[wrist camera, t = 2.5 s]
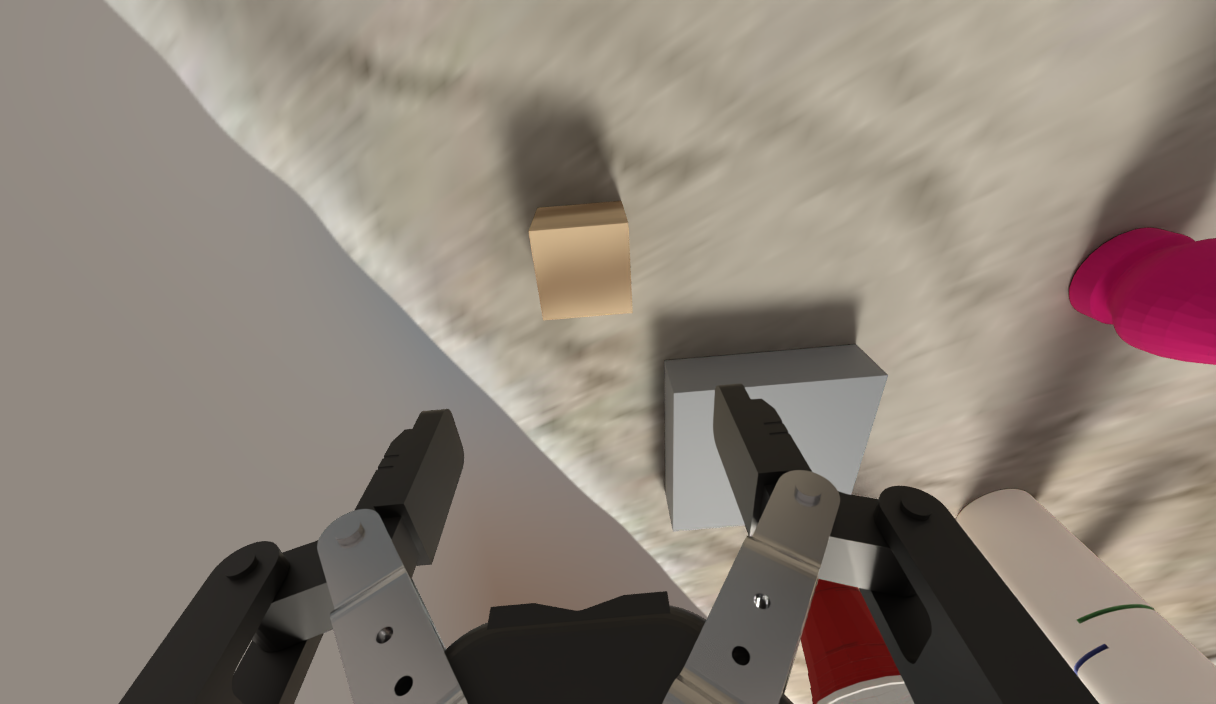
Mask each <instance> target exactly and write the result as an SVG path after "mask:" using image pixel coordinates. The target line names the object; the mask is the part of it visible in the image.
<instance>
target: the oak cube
mask: <svg viewBox="0 0 1216 704" xmlns="http://www.w3.org/2000/svg"><path fill="white" fill-rule="evenodd" d="M529 237H530V243H531V250H532V256H533V262H534V268H535V274H536V280H537V286H538V292H539V298H540V304H541V310H542V316H543V320H553V319H565V318H577V317H588V316H600V315H612V314H624V313H632V292H631V271H630V250H629V229H628V221H627V217H626V214H625V211H624V208H623V205H622V202H621V201H613V202H601V203H589V204H577V205H565V206H553V207H541V208H537V210H536V213H535V216H534V218H533V221H532V223H531V226H530V229H529Z"/></svg>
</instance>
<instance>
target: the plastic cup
mask: <svg viewBox="0 0 1216 704" xmlns="http://www.w3.org/2000/svg"><path fill="white" fill-rule="evenodd" d="M801 643H802V647H803V652H804V656H805V660H806V664H807V668H808V677H809V681H810V685H811V688H810V689H811V693H812V697H813V698H812V701H813V704H914V702H913V700H912V698H911V695H910V693H909V691H908V689H907V687H906V685H905V683H904V681H903V679H902V677H901V675H900V673H899V671H898V669H897V666H896V664H895V662H894V660H893V658H892V656H891V654H890V652H889V650H888V648H887V646H886V644H885V642H884V639H883V637H882V635H881V633H880V631H879V629H878V627H877V625H876V623H875V621H874V619H873V617H872V615H871V613H870V610H869V608H868V606H867V604H866V602H865V600H864V598H863V596H862V594H861V592H860V590H859V589H858V587H854V586H849V585H845V584H840V583H836V582H831V581H827V580H822V579H818V582H817V586H816V589H815V592H814V596H813V599H812V602H811V606H810V609H809V612H808V616H807V619H806V622H805V626H804V629H803V632H802V636H801Z"/></svg>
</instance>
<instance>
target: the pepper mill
mask: <svg viewBox="0 0 1216 704" xmlns="http://www.w3.org/2000/svg"><path fill="white" fill-rule="evenodd" d="M1069 300H1070V302H1071V304H1072V306H1073V307H1074V308H1075V309H1076V310H1077V311H1078V312H1080V313H1082V314H1084V315H1087V316H1089V317H1091V318H1093V319H1095V320H1097V321H1100V322H1102V323H1105V324H1113V325H1114V328H1115V330H1116V332H1117V334H1118V335H1119V336H1120V338H1121V339H1123V340H1124V341H1125V342H1126V343H1128V344H1129V345H1131V346H1133V347H1135V348H1138V349H1141V350H1143V351H1146V352H1149V353H1151V354H1154V355H1157V356H1161V357H1165V358H1170V359H1175V360H1180V361H1186V362H1195V363H1204V364H1213V365H1216V238H1213V239H1205V240H1200V241H1196V242H1195V241H1194V240H1193V239H1191V238H1190V237H1188V236H1185V235H1182V234H1178V233H1174V232H1170V231H1166V230H1162V229H1158V228H1140V229H1135V230H1132V231H1129V232H1126V233H1123V234H1121V235H1118V236H1116V237H1114V238H1113V239H1111V240H1109V241H1108V242H1106V243H1104V244H1103V245H1102V246H1100V247H1099V248H1098V249H1096V250H1095V251H1094V252H1093V253H1092V254H1091V255H1090V256H1089V257H1088V258H1087V259H1086V260H1085V261H1084V262H1083V263H1082V264H1081V266H1080V267H1079V269H1078V270H1077V272H1076V273H1075V275H1074V277H1073V279H1072V282H1071V285H1070V288H1069Z"/></svg>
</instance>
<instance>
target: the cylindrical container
mask: <svg viewBox="0 0 1216 704" xmlns="http://www.w3.org/2000/svg"><path fill="white" fill-rule="evenodd" d="M956 521H957V522H958V523H959V525H960V526H961V527H962V529H963V530H964V531H965V532H966V534H967V535H968V536H969V538H970V539H971V540H972V541H973V543H974V544H975V545H976V546H977V548H978V549H979V550H980V552H981V553H982V554H983V555H984V557H985V558H986V559H987V561H988V562H989V563H990V564H991V566H992V567H993V568H994V570H995V571H996V572H997V573H998V575H999V576H1000V577H1001V579H1002V580H1003V581H1004V582H1005V584H1006V585H1007V586H1008V587H1009V589H1010V590H1011V591H1012V593H1013V594H1014V595H1015V596H1016V598H1017V599H1018V600H1019V602H1020V603H1021V604H1022V605H1023V607H1024V608H1025V609H1026V611H1027V612H1028V613H1029V614H1030V616H1031V617H1032V618H1033V620H1034V621H1035V622H1036V623H1037V625H1038V626H1039V627H1040V628H1041V630H1042V631H1043V632H1044V634H1045V635H1046V636H1047V637H1048V639H1049V640H1050V641H1051V643H1052V644H1053V645H1054V646H1055V648H1056V649H1057V650H1058V652H1059V653H1060V654H1061V655H1062V657H1063V658H1064V659H1065V661H1066V662H1067V663H1068V664H1069V666H1070V667H1071V668H1072V669H1073V671H1074V672H1075V673H1076V675H1077V676H1078V677H1079V678H1080V680H1081V681H1082V682H1083V684H1084V685H1085V686H1086V687H1087V688H1088V690H1089V691H1090V692H1091V693H1092V694H1093V696H1094V697H1095V698H1096V699H1097V700H1098V702H1099V703H1100V704H1216V666H1215V665H1214V664H1213V663H1212V662H1211V661H1210V660H1209V659H1208V658H1207V657H1206V656H1204V655H1203V654H1202V653H1201V652H1200V651H1199V650H1198V649H1197V648H1196V647H1195V646H1194V645H1193V644H1191V643H1190V642H1189V641H1188V640H1187V639H1186V638H1185V637H1184V636H1183V635H1182V634H1181V633H1180V632H1178V631H1177V630H1176V629H1175V628H1174V627H1173V626H1172V625H1171V624H1170V623H1169V622H1168V621H1167V620H1166V619H1164V618H1163V617H1162V616H1161V615H1160V614H1159V613H1158V612H1156V611H1155V610H1154V608H1153V607H1151V606H1150V605H1149V604H1148V603H1147V602H1146V601H1145V600H1144V599H1143V598H1142V597H1141V596H1140V595H1138V594H1137V593H1136V592H1135V591H1134V590H1133V589H1132V588H1131V587H1130V586H1129V585H1128V584H1127V583H1125V582H1124V581H1123V580H1122V579H1121V578H1120V577H1119V576H1118V575H1117V574H1116V573H1115V572H1114V571H1112V570H1111V569H1110V568H1109V567H1108V566H1107V565H1106V564H1105V563H1104V562H1103V561H1102V560H1101V559H1099V558H1098V557H1097V556H1096V555H1095V554H1094V553H1093V552H1092V551H1091V550H1090V549H1089V548H1088V547H1086V546H1085V545H1084V544H1083V543H1082V542H1081V541H1080V540H1079V539H1078V538H1077V537H1076V536H1075V535H1073V534H1072V533H1071V532H1070V531H1069V530H1068V529H1067V528H1066V527H1065V526H1064V525H1063V524H1062V523H1060V522H1059V521H1058V520H1057V519H1056V518H1055V517H1054V516H1053V515H1052V514H1051V513H1050V512H1049V511H1047V510H1046V509H1045V508H1044V507H1043V506H1042V505H1041V504H1040V503H1039V502H1038V501H1037V500H1036V499H1034V498H1033V497H1032V496H1031V495H1030V494H1029V493H1028V492H1026V491H1023V490H1019V489H1004V490H999V491H995V492H992V493H989V494H986V495H984V496H982V497H980V498H978V499H976V500H974V501H973V502H971V503H970V504H968V505H967V506H966V507H965V508H964V509H963V510H962V511H961V512H960V513H959V515H958V516H957V518H956Z"/></svg>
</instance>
